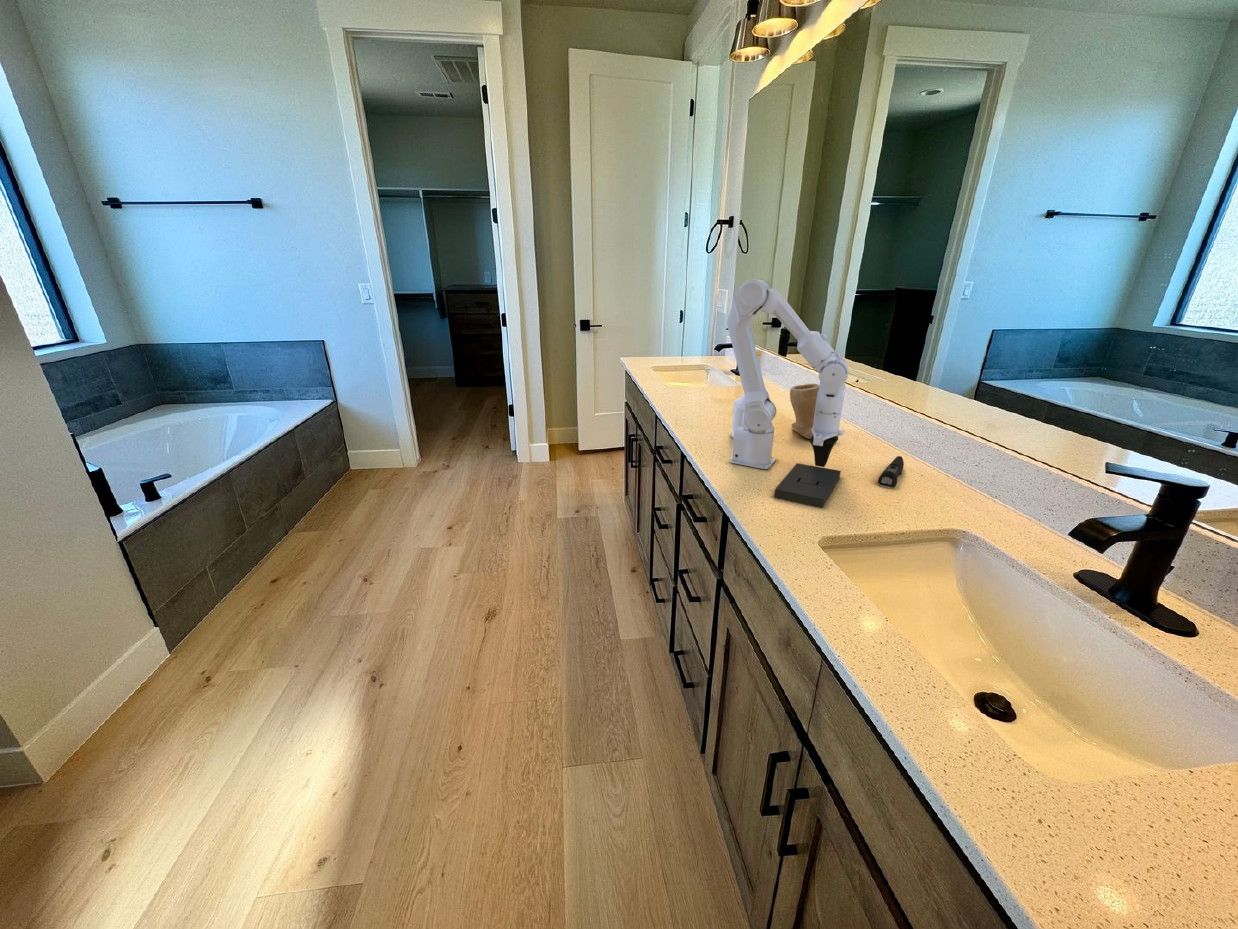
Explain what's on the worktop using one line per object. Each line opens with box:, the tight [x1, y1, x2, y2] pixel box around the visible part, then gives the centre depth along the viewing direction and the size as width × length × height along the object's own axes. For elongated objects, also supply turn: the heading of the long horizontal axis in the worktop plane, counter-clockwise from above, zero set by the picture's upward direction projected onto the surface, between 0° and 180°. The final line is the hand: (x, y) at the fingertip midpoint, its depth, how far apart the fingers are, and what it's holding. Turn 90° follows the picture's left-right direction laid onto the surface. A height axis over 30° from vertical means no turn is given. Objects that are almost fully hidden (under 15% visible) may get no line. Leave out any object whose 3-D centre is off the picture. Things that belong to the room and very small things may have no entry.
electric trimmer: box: [877, 455, 905, 489], centre depth 115 cm, size 4×16×3 cm, turn 143°
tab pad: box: [786, 462, 842, 492], centre depth 113 cm, size 10×11×2 cm
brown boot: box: [789, 383, 840, 440], centre depth 143 cm, size 15×12×15 cm
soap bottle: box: [730, 351, 762, 438], centre depth 140 cm, size 9×9×25 cm
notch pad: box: [773, 474, 833, 509], centre depth 106 cm, size 10×9×2 cm
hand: (820, 465), depth 119 cm, fingers closed
